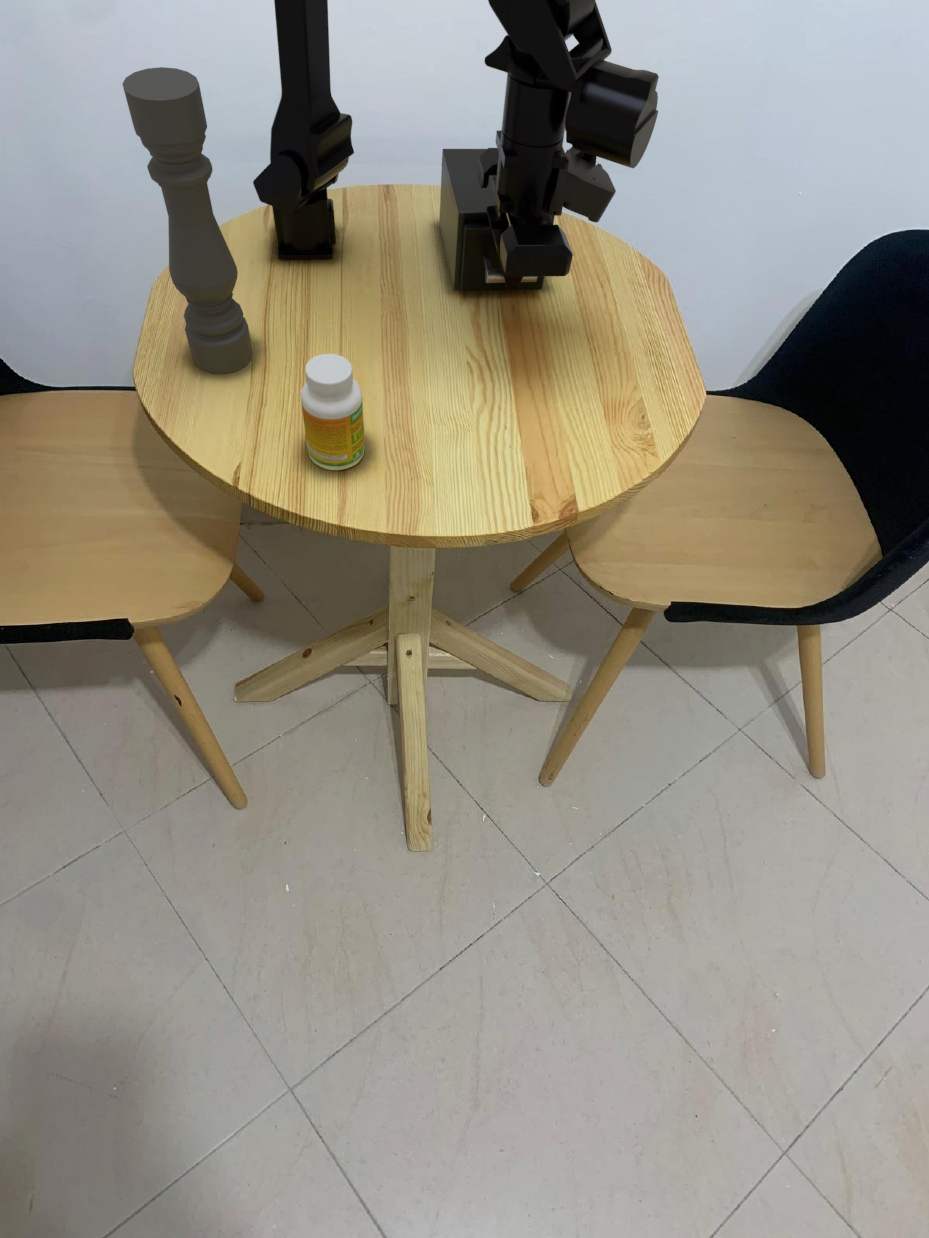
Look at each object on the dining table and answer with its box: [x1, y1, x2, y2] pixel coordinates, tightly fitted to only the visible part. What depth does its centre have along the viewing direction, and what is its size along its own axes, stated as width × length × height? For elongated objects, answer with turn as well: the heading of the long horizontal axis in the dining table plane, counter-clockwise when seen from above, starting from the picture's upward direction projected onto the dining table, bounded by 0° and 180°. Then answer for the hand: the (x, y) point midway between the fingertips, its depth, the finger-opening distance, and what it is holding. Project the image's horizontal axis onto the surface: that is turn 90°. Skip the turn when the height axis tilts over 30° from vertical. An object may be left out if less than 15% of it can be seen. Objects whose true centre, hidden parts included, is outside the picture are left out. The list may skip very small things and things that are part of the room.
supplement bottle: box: [300, 353, 366, 471], centre depth 70 cm, size 5×5×10 cm
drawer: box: [460, 219, 545, 293], centre depth 88 cm, size 17×9×7 cm, turn 8°
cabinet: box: [438, 148, 556, 291], centre depth 90 cm, size 14×11×9 cm
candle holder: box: [122, 66, 254, 375], centre depth 70 cm, size 6×6×25 cm
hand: (511, 288), depth 83 cm, fingers closed
